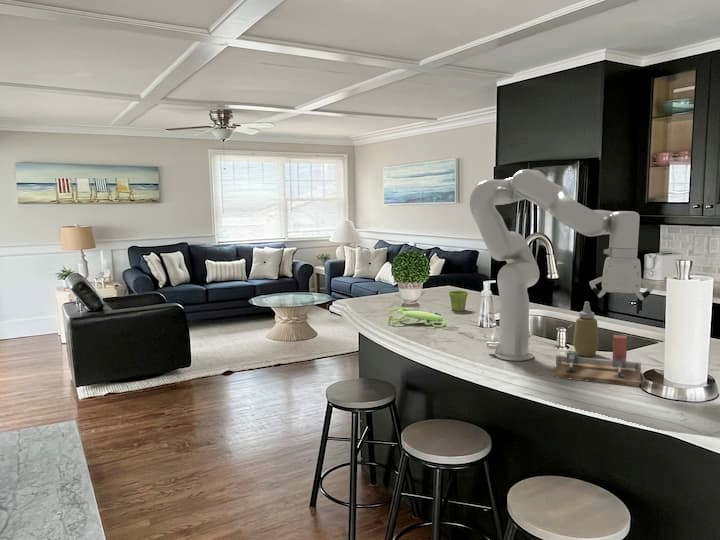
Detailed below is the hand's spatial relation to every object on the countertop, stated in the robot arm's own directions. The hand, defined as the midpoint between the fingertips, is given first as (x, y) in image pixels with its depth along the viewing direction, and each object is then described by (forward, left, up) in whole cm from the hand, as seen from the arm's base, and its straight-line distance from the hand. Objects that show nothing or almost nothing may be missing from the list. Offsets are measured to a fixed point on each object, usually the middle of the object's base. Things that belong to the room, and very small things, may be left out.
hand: (619, 311), depth 165 cm
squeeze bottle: (-10, +18, -19) cm, 28 cm away
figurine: (-80, +47, -19) cm, 95 cm away
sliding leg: (0, -3, -17) cm, 18 cm away
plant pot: (-69, +79, -19) cm, 107 cm away
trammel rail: (-6, -3, -18) cm, 19 cm away
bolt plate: (-6, -4, -19) cm, 20 cm away
